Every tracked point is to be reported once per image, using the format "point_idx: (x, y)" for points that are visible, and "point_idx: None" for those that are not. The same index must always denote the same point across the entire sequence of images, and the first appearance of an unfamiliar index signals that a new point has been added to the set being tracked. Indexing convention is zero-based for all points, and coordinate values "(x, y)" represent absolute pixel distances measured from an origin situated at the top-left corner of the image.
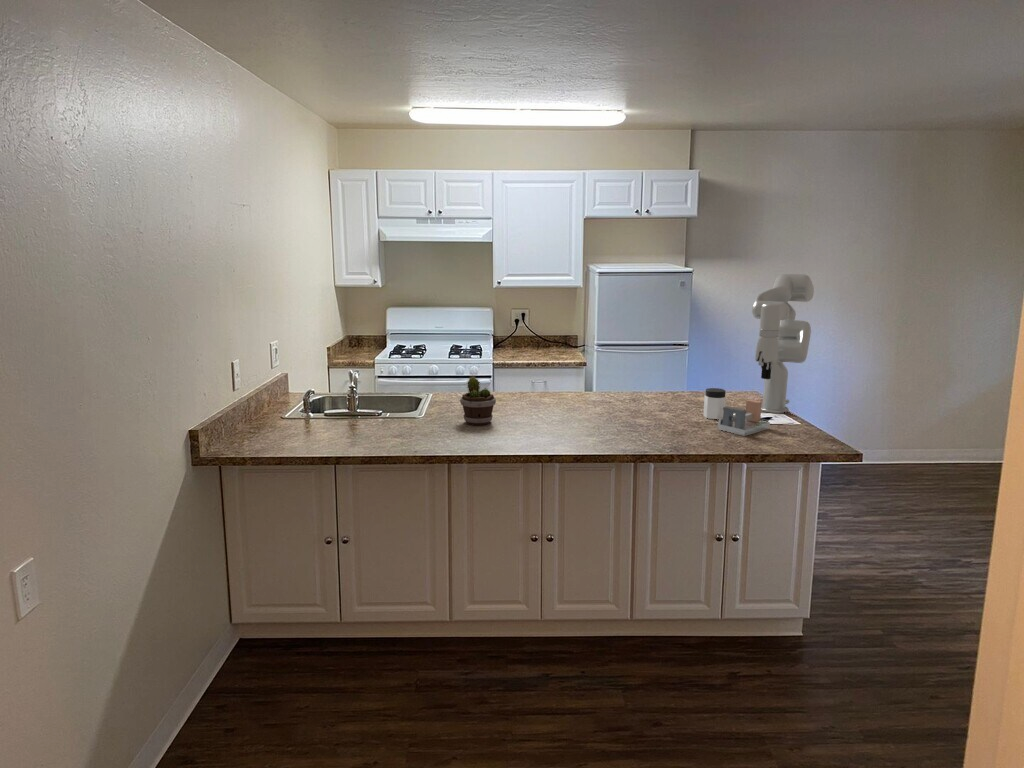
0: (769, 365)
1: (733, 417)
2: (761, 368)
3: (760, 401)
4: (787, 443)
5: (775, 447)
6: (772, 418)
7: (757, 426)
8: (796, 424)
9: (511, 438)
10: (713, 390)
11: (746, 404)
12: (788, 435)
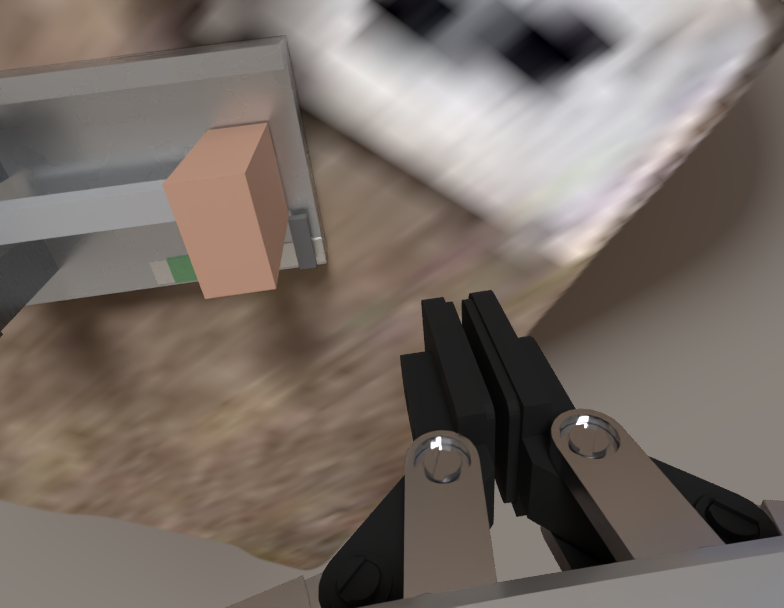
0: (593, 547)
1: (83, 92)
2: (412, 448)
3: (271, 279)
4: (187, 443)
5: (84, 459)
6: (583, 76)
7: (175, 284)
8: (544, 260)
9: None
10: None
11: (174, 173)
12: (303, 372)
